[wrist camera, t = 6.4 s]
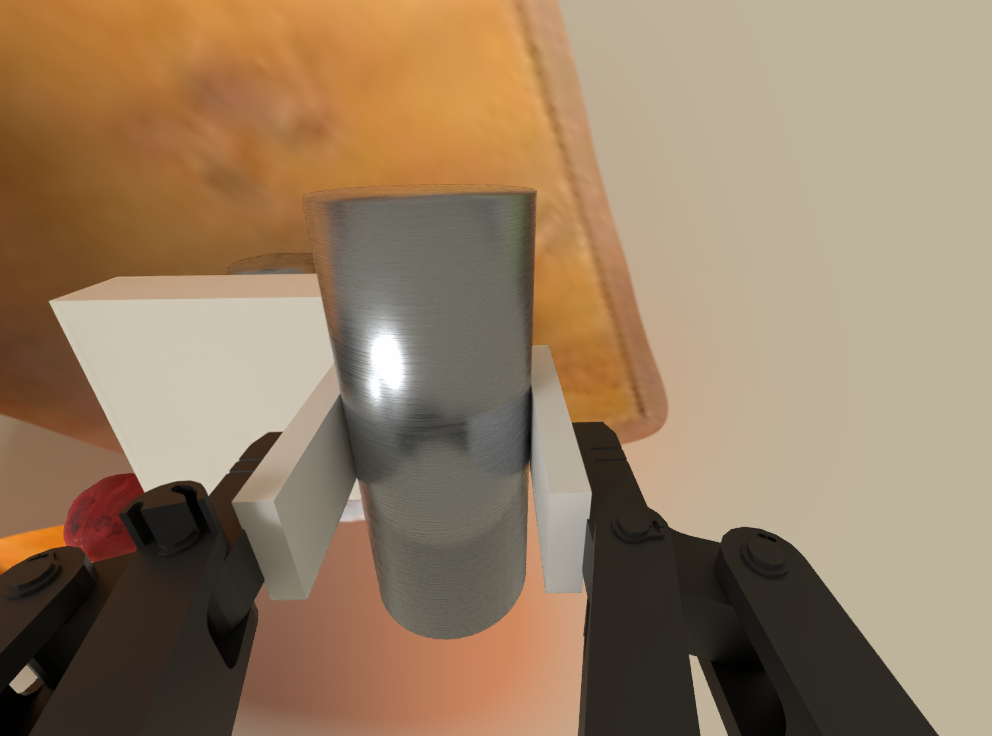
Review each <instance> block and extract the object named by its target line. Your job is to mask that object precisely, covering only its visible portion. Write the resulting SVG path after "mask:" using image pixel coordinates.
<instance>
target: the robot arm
mask: <svg viewBox="0 0 992 736" xmlns="http://www.w3.org/2000/svg"><path fill="white" fill-rule="evenodd" d="M626 460H627V458H626V456H625V454H624V452H623V450H622V447H621V445H620V442H619V440H618V438H617V436H616V433H615V432H613V431H612V430H611V429H610V428H609V427H608V426H607V425H605V424H604V423H603V422H577V423H571V420H570V416H569V413H568V409H567V406H566V402H565V399H564V395H563V392H562V389H561V385H560V382H559V378H558V375H557V371H556V368H555V365H554V361H553V358H552V354H551V351H550V347H549V345H532V372H531V408H530V443H529V461H530V469H531V477H532V485H533V493H534V502H535V510H536V519H537V527H538V535H539V543H540V551H541V560H542V568H543V575H544V584H545V593H579V592H580V593H581V592H582V586H583V577H584V582H585V586H586V592H587V596H588V598H587V607H586V617H585V626H584V634H583V635H584V650H583V666H582V683H581V698H580V713H579V728H578V729H579V730H578V736H700V729H699V722H698V715H697V708H696V701H695V695H694V687H693V680H692V674H691V666H690V660H689V654H690V655H694V656H697V657H698V660H699V663H700V665H701V668H702V670H703V673H704V675H705V678H706V680H707V683H708V686H709V688H710V691H711V693H712V696H713V698H714V701H715V703H716V706H717V708H718V711H719V713H720V716H721V719H722V721H723V724H724V726H725V729H726V731H727V734H728V736H939V735H938V734H937V733H936V732H935V730H934V729H933V728H932V726H931V725H930V724H929V722H928V721H927V719H926V718H925V717H924V716H923V714H922V713H921V712H920V710H919V709H918V707H917V706H916V705H915V704H914V703H913V701H912V700H911V698H910V697H909V696H908V694H907V693H906V692H905V690H904V689H903V688H902V686H901V685H900V684H899V682H898V681H897V680H896V679H895V677H894V676H893V674H892V673H891V672H890V670H889V669H888V668H887V666H886V665H885V664H884V662H883V661H882V660H881V658H880V657H879V656H878V655H877V653H876V652H875V650H874V649H873V648H872V646H871V645H870V644H869V642H868V641H867V640H866V638H865V637H864V636H863V634H862V633H861V632H860V630H859V629H858V628H857V626H856V625H855V624H854V622H853V621H852V620H851V618H850V617H849V616H848V614H847V613H846V612H845V611H844V609H843V608H842V607H841V605H840V604H839V602H838V601H837V600H836V598H835V597H834V596H833V595H832V593H831V592H830V591H829V589H828V588H827V587H826V585H825V584H824V583H823V581H822V580H821V579H820V577H819V576H818V575H817V573H816V572H815V571H814V569H813V568H812V567H811V565H810V564H809V563H808V561H807V560H806V559H805V557H804V556H803V555H802V554H801V553H800V552H799V551H798V550H797V549H796V548H795V547H794V546H793V545H792V544H790V543H789V542H787V541H785V540H784V539H782V538H781V537H779V536H777V535H775V534H773V533H770V532H767V531H765V530H762V529H758V528H750V527H740V528H735V529H731V530H730V531H729V532H727V533H726V534H725V535H723V538H722V541H721V543H719V542H715V541H710V540H706V539H702V538H698V537H693V536H689V535H686V534H683V533H680V532H677V531H675V530H673V529H671V528H669V527H668V524H667V522H666V521H665V520H664V519H663V518H662V517H661V516H660V515H659V514H658V513H657V512H655V511H654V510H652V509H650V508H649V507H648V506H647V504H646V502H645V500H644V498H643V495H642V493H641V491H640V488H639V486H638V484H637V481H636V479H635V477H634V475H633V472H632V470H631V468H630V465H629V463H628V462H627V461H626ZM356 479H357V475H356V470H355V464H354V459H353V454H352V449H351V444H350V439H349V434H348V429H347V424H346V419H345V414H344V409H343V404H342V399H341V394H340V389H339V384H338V379H337V374H336V369H335V364H334V363H333V365H332V366H331V367H330V369H329V370H328V372H327V373H326V374H325V376H324V377H323V378H322V380H321V381H320V382H319V384H318V385H317V387H316V388H315V389H314V391H313V392H312V393H311V395H310V396H309V397H308V399H307V400H306V401H305V403H304V404H303V406H302V407H301V408H300V410H299V411H298V412H297V414H296V415H295V416H294V418H293V419H292V421H291V422H290V423H289V425H288V426H287V427H286V429H285V430H284V431H283V432H268V433H266V434H265V435H263V436H262V437H261V438H259V439H258V440H256V441H255V442H253V443H252V444H251V445H250V446H249V447H248V448H247V449H246V451H245V452H244V453H243V454H242V456H241V457H240V458H239V461H238V462H236V463H235V464H234V465H233V467H232V468H231V469H230V470H229V474H226V475H225V476H224V478H223V479H222V480H221V481H220V483H219V484H218V485H217V486H216V487H215V489H214V490H213V491H212V492H211V494H210V495H209V496H208V494H207V491H206V489H205V488H204V487H203V485H202V484H201V483H199V482H195V481H191V480H187V481H175V482H171V483H168V484H164V485H160V486H158V487H156V488H154V489H151V490H149V491H147V492H145V493H143V494H141V495H140V496H138V497H137V498H135V499H134V500H132V501H131V502H129V503H128V504H127V505H126V506H125V507H124V508H123V509H122V510H121V511H120V513H119V514H118V515H119V517H120V519H121V521H122V522H123V524H124V526H125V528H126V529H127V531H128V533H129V535H130V536H131V538H132V540H133V542H134V543H135V545H136V547H137V550H136V551H135V552H131V553H128V554H124V555H120V556H116V557H112V558H108V559H104V560H101V561H97V562H93V563H91V561H90V560H89V558H88V557H87V555H86V554H85V553H84V551H83V550H82V549H81V548H79V547H72V546H65V547H59V548H53V549H50V550H47V551H44V552H42V553H38V554H36V555H33V556H31V557H29V558H27V559H26V560H24V561H22V562H20V563H18V564H16V565H14V566H13V567H11V568H10V569H9V570H7V571H6V572H5V573H3V574H2V575H0V736H231V735H232V730H233V726H234V722H235V718H236V713H237V709H238V705H239V700H240V696H241V692H242V687H243V683H244V679H245V675H246V670H247V666H248V662H249V657H250V653H251V649H252V645H253V640H254V636H255V632H256V627H257V623H258V609H257V607H256V605H255V603H254V600H255V598H256V596H257V594H258V592H259V590H260V588H261V587H262V585H263V583H264V584H265V587H266V589H267V591H268V594H269V597H270V599H271V600H305V599H308V597H309V594H310V591H311V589H312V587H313V584H314V582H315V579H316V577H317V574H318V572H319V569H320V567H321V565H322V562H323V560H324V557H325V555H326V552H327V550H328V548H329V545H330V543H331V540H332V537H333V535H334V533H335V530H336V528H337V525H338V523H339V521H340V518H341V516H342V513H343V511H344V508H345V506H346V503H347V501H348V499H349V496H350V494H351V491H352V489H353V486H354V484H355V481H356ZM26 665H27V666H28V667H29V668H30V669H31V670H32V671H33V672H34V673H35V675H36V676H37V677H38V678H37V679H36V681H35V682H34V683H33V684H32V685H30V687H28V688H27V689H26V690H25V691H24V692H22V693H19V694H18V693H16V692H15V691H14V690H13V689H12V688H11V687H10V685H9V684H10V682H11V681H12V680H13V679H14V678H15V677H16V676H17V675H18V673H19V672H20V671H21V670H22V669H23V668H24V667H25V666H26Z"/></svg>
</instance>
